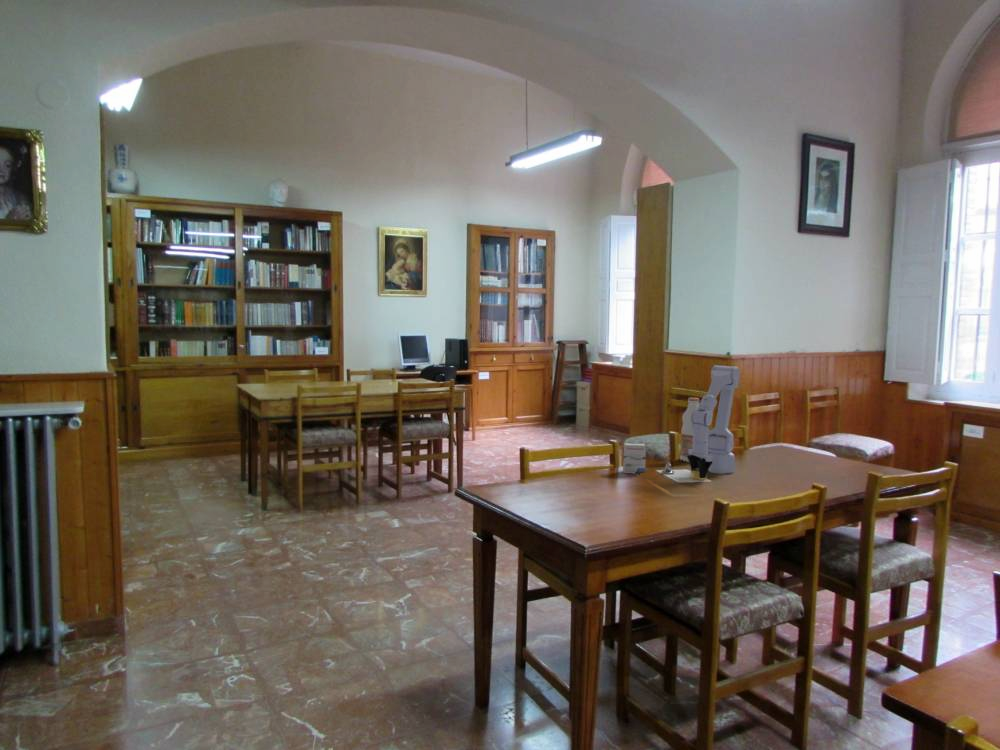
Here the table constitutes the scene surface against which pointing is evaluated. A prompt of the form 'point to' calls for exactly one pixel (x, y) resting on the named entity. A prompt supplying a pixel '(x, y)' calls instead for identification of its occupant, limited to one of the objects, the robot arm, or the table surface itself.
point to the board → (683, 476)
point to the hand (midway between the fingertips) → (698, 476)
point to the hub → (668, 469)
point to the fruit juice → (688, 429)
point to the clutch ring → (696, 475)
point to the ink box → (634, 458)
